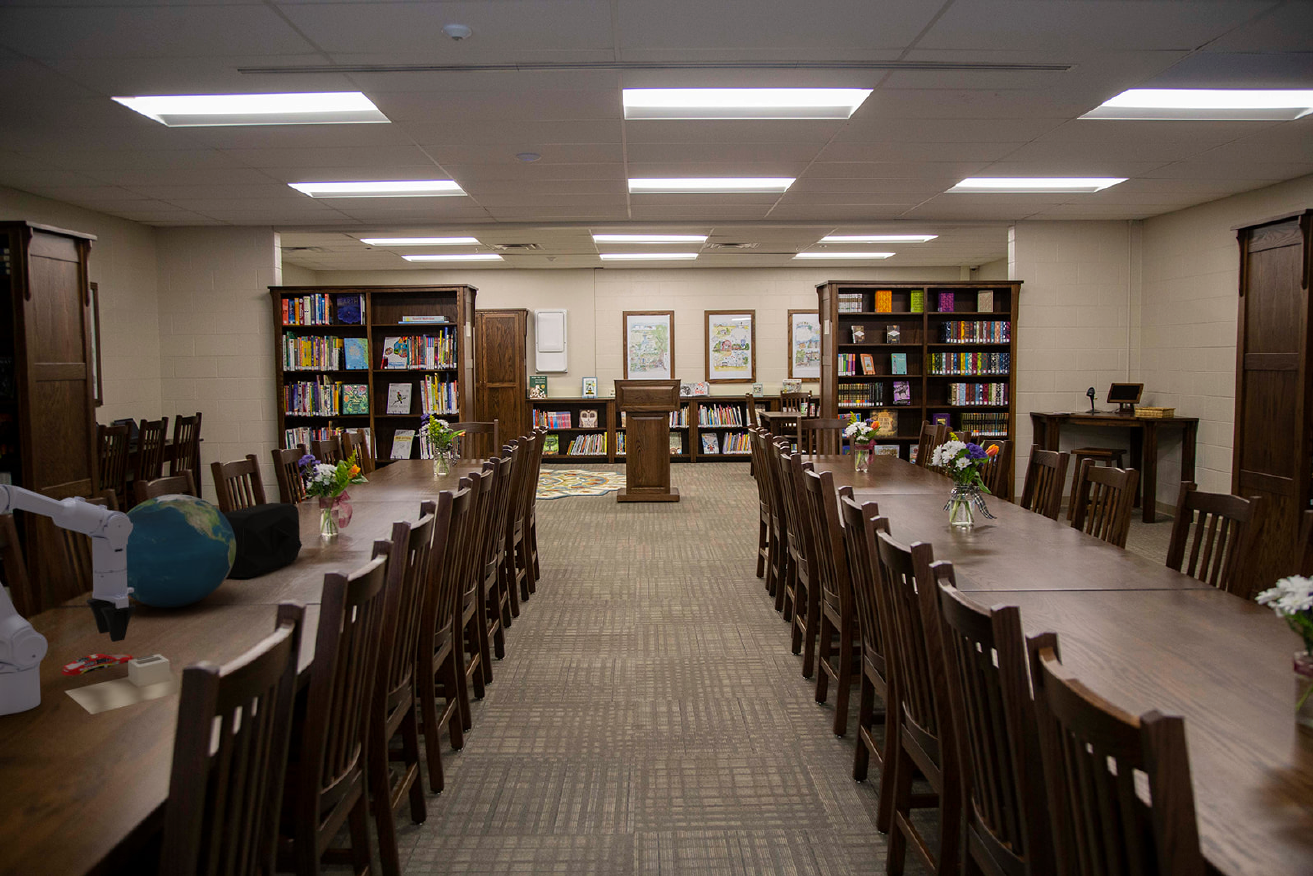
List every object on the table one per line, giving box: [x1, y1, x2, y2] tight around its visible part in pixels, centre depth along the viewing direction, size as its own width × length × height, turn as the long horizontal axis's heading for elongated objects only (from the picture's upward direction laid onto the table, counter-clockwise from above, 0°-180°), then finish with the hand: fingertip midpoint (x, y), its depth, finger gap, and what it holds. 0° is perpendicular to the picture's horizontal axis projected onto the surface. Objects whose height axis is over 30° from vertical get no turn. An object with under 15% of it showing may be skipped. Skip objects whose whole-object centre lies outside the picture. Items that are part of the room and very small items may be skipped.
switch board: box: [64, 661, 182, 715], centre depth 163 cm, size 18×16×5 cm
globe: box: [125, 493, 236, 609], centre depth 225 cm, size 30×30×30 cm
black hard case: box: [222, 502, 303, 579], centre depth 267 cm, size 30×12×20 cm, turn 171°
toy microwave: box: [127, 653, 171, 687], centre depth 168 cm, size 6×6×4 cm
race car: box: [60, 653, 135, 677], centre depth 176 cm, size 13×5×4 cm, turn 146°
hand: (111, 636), depth 170 cm, fingers open, 7 cm apart
